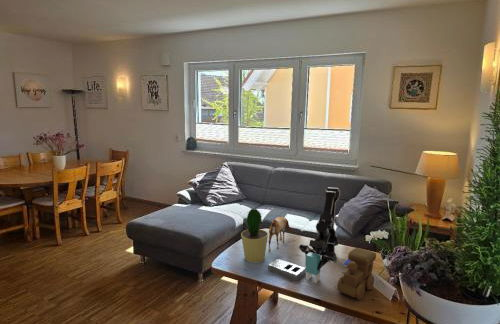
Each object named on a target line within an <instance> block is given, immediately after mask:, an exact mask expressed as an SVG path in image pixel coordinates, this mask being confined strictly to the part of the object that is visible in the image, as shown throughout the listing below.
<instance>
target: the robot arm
mask: <svg viewBox="0 0 500 324" xmlns="http://www.w3.org/2000/svg"><path fill="white" fill-rule="evenodd" d="M340 196H341V190H340V189H339V187H330V186H328V187H327V188H325V189H324V197H325V201H324V206H323V211H322V213H321V214H320V215H319V218H318V220H317V222H316V225H315V230H316V232H317V237H315V238H314V240H313V239H310V240H309V245H308V244H304V243H301V244H299V246H298V249H299V250H300V251H301V252H302V253H304V254H305V257H306V255H307V254H308V253H309V252H311V253H314V254H318V255H321V261H320V263H319V265H318V268H317V270H318V271H319V270H320V271H321V269H322V268H323V267H324V266H325V265H326V264H328V263H330V262H334V263H336V261H337V257H338V256H337V253H336V251H335V250H336V249H335V247H337V246H339V237H338V235H337V231H336V229H335V218H336V207H337V206H336V203H337V202H338V201H339V199H340ZM310 247H311V248H310Z"/></svg>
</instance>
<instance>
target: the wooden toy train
mask: <svg viewBox="0 0 500 324" xmlns="http://www.w3.org/2000/svg"><path fill="white" fill-rule="evenodd" d="M347 259H349V260H350V262H349V263H348V264H347V267H346V268H347V270H346V271H345V272H344V273H343V275H342V276H341V277H339V279H338V281H337V285H336V286H337V290H338V292H340V293H342V294H344V295H347V296H349V297H352V298H356V299H357V300H362V299H363V298H364V296H365V291H366V290H367V291H368V290H369V291H370V290H372V288H373V287H374V284H375V278H374V277H375V276H373V274H372V273H373V267H374V262H375V261H376V259H377V253H376V252H373V251H371V250H368V249H366V248H365V249H364V248H359V247H355V248H353V249H352V250H350V251H349V253H348V255H347Z"/></svg>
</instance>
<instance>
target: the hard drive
mask: <svg viewBox="0 0 500 324" xmlns="http://www.w3.org/2000/svg"><path fill="white" fill-rule="evenodd" d="M349 262H350V260H349V259H348V258H347V259H346V260H345V261H344V262H343V263H342V266H343V267H346V268H348V267H347V264H348V263H349Z"/></svg>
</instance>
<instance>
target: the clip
mask: <svg viewBox="0 0 500 324" xmlns="http://www.w3.org/2000/svg"><path fill="white" fill-rule="evenodd" d="M321 256H322V255H318V254H315V253H311V252H309V253H308V254H307V255H306V256H305V268H306V273H305V280H306V281H309V280H310V279H312V278H313V283H315V284H317V283H319V281H320V280H321V269H320V270H319V271H318V270H317V268H318V265H319V263H320V261H321Z"/></svg>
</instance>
